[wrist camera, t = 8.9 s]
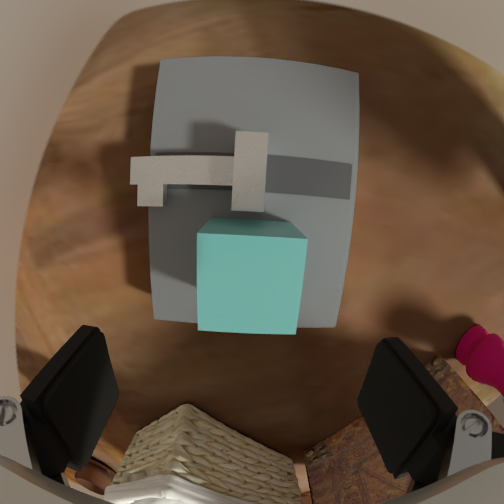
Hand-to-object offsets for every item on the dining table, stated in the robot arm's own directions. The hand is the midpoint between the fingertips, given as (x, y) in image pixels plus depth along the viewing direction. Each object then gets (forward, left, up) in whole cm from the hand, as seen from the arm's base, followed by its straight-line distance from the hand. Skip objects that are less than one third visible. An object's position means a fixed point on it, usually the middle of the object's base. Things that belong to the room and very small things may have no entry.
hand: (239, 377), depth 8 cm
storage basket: (+3, +32, -18) cm, 37 cm away
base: (0, -5, -18) cm, 18 cm away
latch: (+4, -7, -14) cm, 16 cm away
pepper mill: (-34, +13, -18) cm, 41 cm away
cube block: (0, 0, -14) cm, 14 cm away
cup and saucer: (+30, +50, -18) cm, 61 cm away
